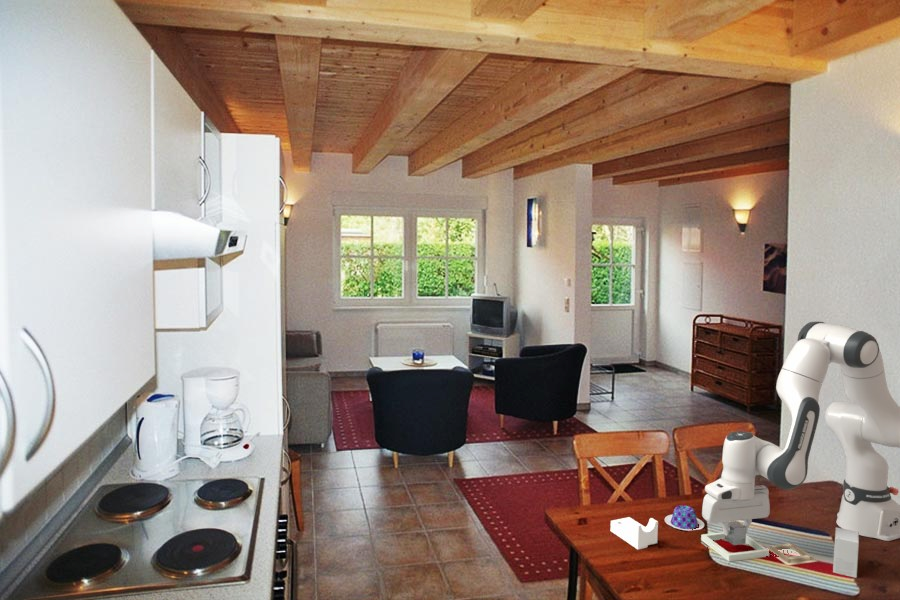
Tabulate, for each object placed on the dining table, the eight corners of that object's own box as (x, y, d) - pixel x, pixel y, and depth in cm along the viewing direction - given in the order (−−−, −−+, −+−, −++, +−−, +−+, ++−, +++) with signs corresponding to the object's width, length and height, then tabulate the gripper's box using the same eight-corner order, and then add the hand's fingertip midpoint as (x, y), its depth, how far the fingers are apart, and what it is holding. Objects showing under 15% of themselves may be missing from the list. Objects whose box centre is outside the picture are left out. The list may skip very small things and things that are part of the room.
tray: (739, 538, 199) (739, 530, 198) (768, 558, 186) (769, 550, 186) (701, 542, 196) (701, 534, 196) (728, 564, 183) (729, 555, 183)
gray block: (736, 537, 193) (737, 521, 192) (745, 543, 189) (746, 527, 189) (724, 538, 192) (725, 522, 192) (733, 545, 188) (734, 528, 188)
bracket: (657, 546, 194) (658, 521, 194) (637, 550, 192) (638, 525, 191) (628, 527, 206) (629, 504, 205) (610, 531, 203) (611, 508, 203)
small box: (856, 580, 175) (859, 543, 173) (832, 575, 178) (834, 537, 176) (856, 567, 181) (859, 531, 180) (833, 562, 184) (835, 526, 183)
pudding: (691, 536, 200) (691, 520, 200) (656, 523, 210) (657, 507, 209) (711, 525, 208) (712, 509, 207) (677, 513, 217) (678, 497, 217)
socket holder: (792, 547, 193) (792, 541, 193) (818, 563, 183) (818, 557, 183) (762, 550, 191) (763, 544, 191) (787, 567, 181) (787, 561, 181)
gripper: (761, 480, 194) (758, 525, 196) (699, 486, 190) (698, 532, 191) (776, 488, 188) (773, 534, 190) (713, 495, 184) (711, 542, 185)
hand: (735, 533), depth 190 cm, fingers closed on gray block, 4 cm apart
